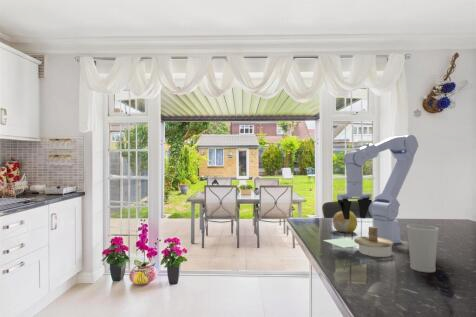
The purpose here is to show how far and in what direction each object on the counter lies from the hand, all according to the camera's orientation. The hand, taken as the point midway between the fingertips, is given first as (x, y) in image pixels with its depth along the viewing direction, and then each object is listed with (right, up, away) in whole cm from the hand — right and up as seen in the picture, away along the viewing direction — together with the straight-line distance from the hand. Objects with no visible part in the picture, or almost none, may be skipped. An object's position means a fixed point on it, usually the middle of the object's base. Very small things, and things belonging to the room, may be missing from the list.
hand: (354, 218), depth 119 cm
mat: (-3, -10, +2) cm, 11 cm away
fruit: (+4, -11, +21) cm, 24 cm away
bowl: (+3, -10, -12) cm, 16 cm away
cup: (+10, -10, -28) cm, 31 cm away
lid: (+2, -6, -11) cm, 13 cm away
